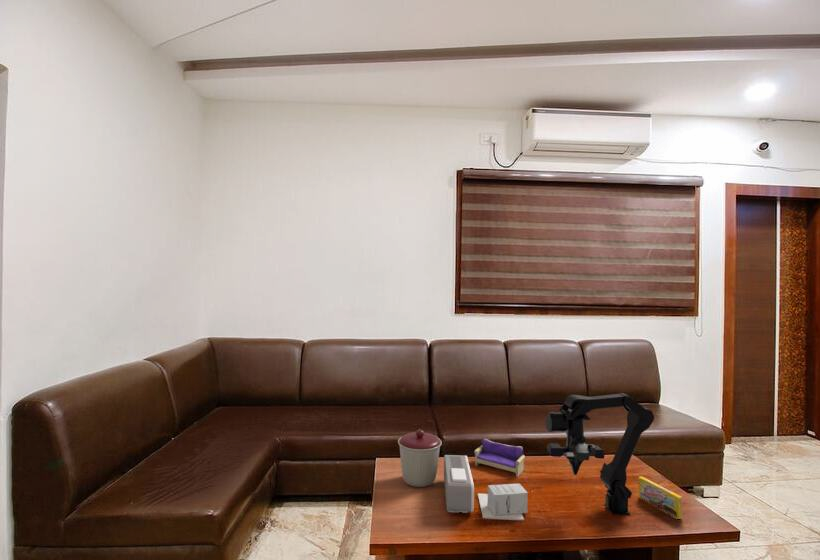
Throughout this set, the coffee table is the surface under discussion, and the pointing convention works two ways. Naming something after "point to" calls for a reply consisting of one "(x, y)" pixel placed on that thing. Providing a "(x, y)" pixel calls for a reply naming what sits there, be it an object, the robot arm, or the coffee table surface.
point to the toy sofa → (500, 456)
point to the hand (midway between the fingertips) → (574, 474)
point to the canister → (419, 457)
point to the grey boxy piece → (458, 484)
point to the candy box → (660, 497)
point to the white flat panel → (488, 513)
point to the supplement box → (507, 499)
